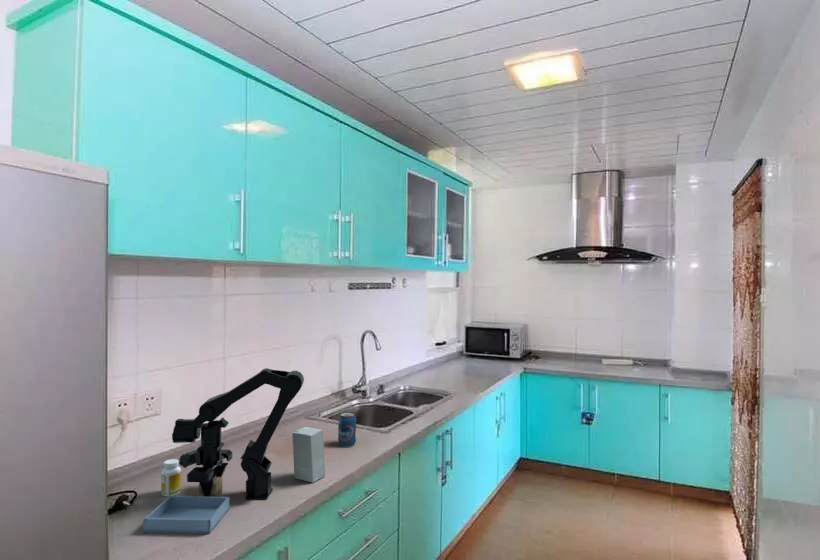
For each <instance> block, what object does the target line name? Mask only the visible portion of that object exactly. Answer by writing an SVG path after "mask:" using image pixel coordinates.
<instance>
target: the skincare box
mask: <svg viewBox="0 0 820 560" xmlns="http://www.w3.org/2000/svg"><path fill="white" fill-rule="evenodd" d="M291 438H292V452H293V454H292V455H293V472H294V473H293V475H294V479H297V480H301V481H305V482H309V483H312V484H313V483H315V482H316V481H318V480H320V479H322V478H324V477H326V468H325V467H326V464H325V446H324V445H325V444H324V430H323V429H319V428H313V427H308V426H304V427H302V428H298V429H297V430H295V431H293V432H292V437H291Z"/></svg>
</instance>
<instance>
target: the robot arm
mask: <svg viewBox="0 0 820 560" xmlns="http://www.w3.org/2000/svg"><path fill="white" fill-rule="evenodd" d="M304 382H305V377H304V375H303V373H301V371H298V370H292V371H286V370H278V369H272V368H266V367H265V368H263V369H261V371H259V372H257V373H256V374H255V375H252V376H251V377H250V378H248V379H246V380H244V381H243V382H242V383H239V384H238V385H237V386H235V387H233V388H232V389H230V390H229V391H226V392H223V393H221V394H218V395H215V396H212V397H210V398H208V399H207V400H206V401H205V402H204V403H203V404H202V405H200V407H198V409H199V410H198V414H197V416H196V417H194V418H191V419H190V418H189V419H188V418H187V419H185V418H177V419H176V420H175V421H174V422H175V423H174V427H173V431H172V433H171V441H172V443H173V444H182V443H183V444H186V443H187V444H189V443H193V444H194V443H195V442H196V441H197V440H198V439H199V438H200V446H198V448H197V449H194V450H191V451H188V452H185V453H183V454H181V455H180V457H179V459H178V461H179V464H178V465H180V467H182V468H183V469H185V468H188V467H189V466H191V465H195V464H196V465H195V467H194V468H193V469H191V470H190V471H189V472H188V473H187V474H186V482H188V483H198V484H199V483H200V485H201V488H202V491H203V494H204V496H205V497H209V496H210V493H211V490H212V487H213V484H214V481H215V478H216V477H222V478H223V476H224V473H225V471H226V469H227V467H228V465H229V463H228V462H230V461H231V460H232V459H233V451H232V450H230V449H223V447H224V446H225V445H224V444H225V442H222V428H226V427H227V426H228V425H229V424H230V422H229V421H228V420H226V419H225V417H223V416H222V417H221V418H220V419H218V418H219V416H220V415H222V414H223V413H224V412H225V411H227V409H228V408H230V406H232V405H233V404H235V403H236V402H238V401H239V400H241V399H243V398H245V397H246V396H247V395H249V394H251V393H253V392H254V391H256V390H257V389H259V388H260V387H262V386H264V385H268V386H271V387H274V388H277V389H280V390H279V394H278V397H277V400H276V402H275V404H274V406H273V408H272V410H271V412H270V414H269V415H268V417H267V419H266V422H264V425H263V427H262V429H261V431H260V433H259V435H258V437H257V438H256V439H255V440H253V439H250V440H249V442H248V444H247V446H246V448H245V450H244V451H243V453H242V455H241V456H240V460H241V462H240V467H241V470H242V471H243V472H245V473H246V474H245V475H246V476H247V479H246V481H245V494H246V495H245V499H246V500H267V499H268V498H269V497H270V495H271V494H272V492H273V490H274V488H273V487H272V472H271V471H269V470H270V469H271V465H272V461H271V460H270V459H269V458H268V457H266V454H267V450H268V447H269V443H270V441H271V439H272V437H273V435H274V434H275V432H276V429H277V427H278V425H279V423H280V421H281V420H282V418H283V416H284V413H286V410H287V408H288V406H289V404H290V403H291V402H292V400H293V399H294V398H295V397H296V396H297V394H299V392H300V390H302V387H303V384H304ZM216 419H218V420H216ZM224 459H226V462H224Z"/></svg>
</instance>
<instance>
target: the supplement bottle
mask: <svg viewBox="0 0 820 560" xmlns="http://www.w3.org/2000/svg"><path fill="white" fill-rule="evenodd" d="M179 462H180V460H179V459H178V458H173V459H172V458H171V459H167V460H165V461H164V462H163V469H162V470H161V472H160V474H161V475H160V476H161V482H160V484H161V485H160V487H161V488H160V490H161V491H160V493H161V496H162V497H165V498H168V497H169V496H178V494H180V493H181V492H182V467H181V466H179V465H180V464H179Z"/></svg>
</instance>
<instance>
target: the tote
mask: <svg viewBox="0 0 820 560" xmlns="http://www.w3.org/2000/svg"><path fill="white" fill-rule="evenodd" d="M230 500H231V497H230V496H220V497H203V496H199V495H197V496H194V495H188V496H187V495H175V496H169V497H166V499H165V500H164V501H162V502H161V503H160V504H159V505H158V506H157V507H156V508H154V509H153V510H152V512H150V513H148V515H147V516H145V517H144V518H143V533H151V534H152V533H153V534H154V533H155V534H156V533H157V534H158V533H159V534H196V535H198V534H199V535H200V534H201V535H203V534H204V535H206V534H207V535H209V534H211V533H212V532H213V530H214V529H215V528H216V527H217V526H218V525H219V523H220V522H221V521H222V520H223V518H224V517H225V516H226V515H227V513H228V512H229V511H230V509H231V508H230V507H231V505H230V503H231V501H230Z"/></svg>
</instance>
